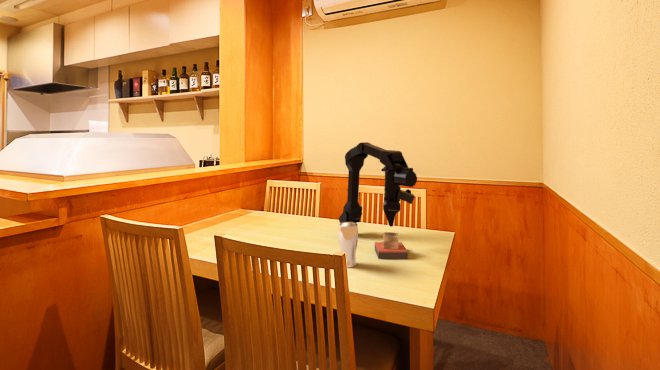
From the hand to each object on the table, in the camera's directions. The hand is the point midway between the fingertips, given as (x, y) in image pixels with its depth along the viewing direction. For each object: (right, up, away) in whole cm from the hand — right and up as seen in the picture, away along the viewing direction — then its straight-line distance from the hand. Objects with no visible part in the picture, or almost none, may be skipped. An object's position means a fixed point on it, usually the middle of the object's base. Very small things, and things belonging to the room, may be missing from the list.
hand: (391, 223), depth 129 cm
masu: (0, -9, +1) cm, 9 cm away
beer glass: (-17, -14, -9) cm, 24 cm away
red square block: (0, -13, +2) cm, 13 cm away
